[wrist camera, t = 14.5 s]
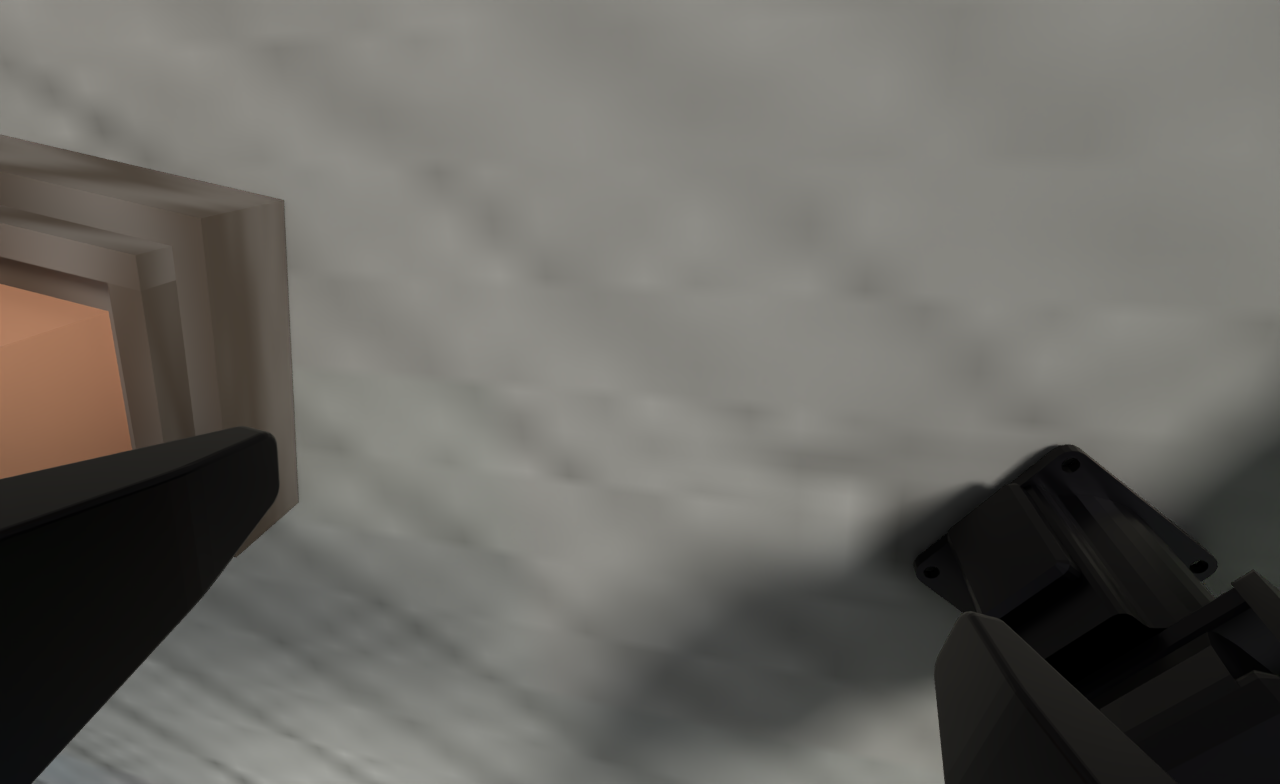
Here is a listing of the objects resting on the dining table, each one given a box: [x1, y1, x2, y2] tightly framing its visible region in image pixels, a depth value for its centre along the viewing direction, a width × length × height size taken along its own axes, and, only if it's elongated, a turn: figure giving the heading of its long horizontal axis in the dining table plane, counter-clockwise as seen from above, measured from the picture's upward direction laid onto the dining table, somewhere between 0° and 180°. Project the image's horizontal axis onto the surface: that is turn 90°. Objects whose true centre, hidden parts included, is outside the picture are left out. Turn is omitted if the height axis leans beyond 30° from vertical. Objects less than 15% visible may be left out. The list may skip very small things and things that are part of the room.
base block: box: [0, 135, 299, 557], centre depth 22 cm, size 12×12×5 cm
